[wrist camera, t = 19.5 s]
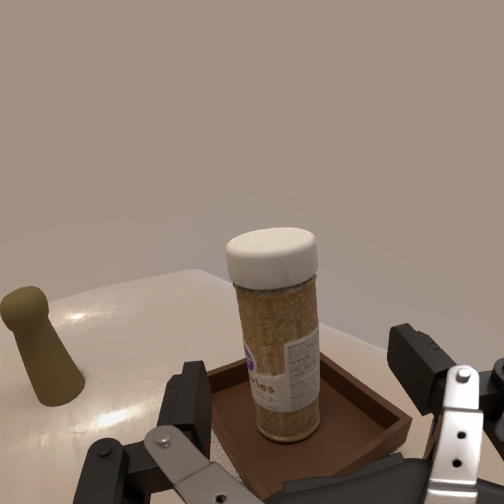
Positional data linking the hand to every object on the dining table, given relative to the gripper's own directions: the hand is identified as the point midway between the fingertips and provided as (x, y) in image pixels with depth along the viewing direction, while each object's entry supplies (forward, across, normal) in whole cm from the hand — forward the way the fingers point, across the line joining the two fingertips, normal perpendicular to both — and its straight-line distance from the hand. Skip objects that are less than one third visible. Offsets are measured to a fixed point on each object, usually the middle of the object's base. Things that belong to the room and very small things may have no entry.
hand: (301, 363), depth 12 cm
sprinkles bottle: (+5, 0, +9) cm, 11 cm away
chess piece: (+11, +23, +10) cm, 27 cm away
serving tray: (+5, 0, +10) cm, 11 cm away
